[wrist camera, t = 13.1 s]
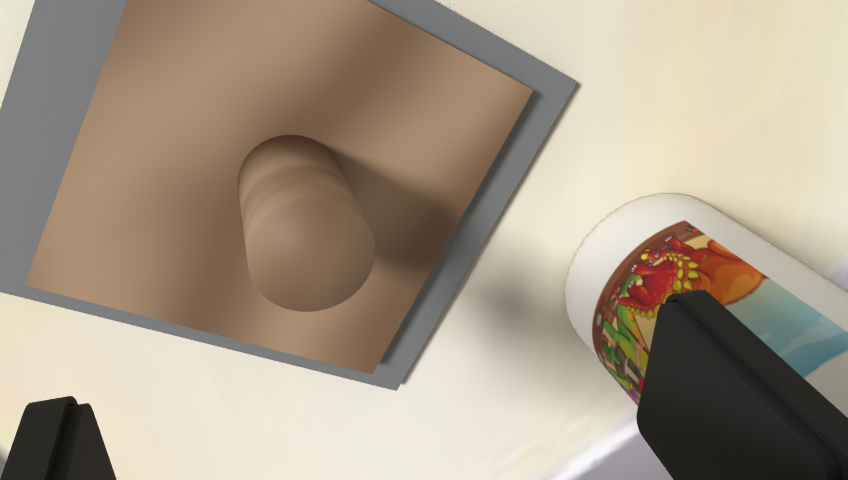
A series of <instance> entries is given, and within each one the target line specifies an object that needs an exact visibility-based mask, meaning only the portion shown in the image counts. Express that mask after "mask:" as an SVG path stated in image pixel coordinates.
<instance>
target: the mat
mask: <svg viewBox="0 0 848 480" xmlns="http://www.w3.org/2000/svg"><path fill="white" fill-rule="evenodd" d="M369 1H371V2H372V3H374V4H376V5H378V6H380V7H382V8H384V9H385V10H387V11H389V12H391V13H393V14H395V15H397V16H398V17H400V18H402V19H404V20H406V21H408V22H410V23H411V24H413V25H415V26H417V27H419V28H421V29H423V30H424V31H426V32H428V33H430V34H432V35H434V36H436V37H437V38H439V39H441V40H443V41H445V42H447V43H449V44H450V45H452V46H454V47H456V48H458V49H460V50H462V51H463V52H465V53H467V54H469V55H471V56H473V57H475V58H476V59H478V60H480V61H482V62H484V63H486V64H488V65H489V66H491V67H493V68H495V69H497V70H499V71H501V72H502V73H504V74H506V75H508V76H510V77H512V78H514V79H515V80H517V81H519V82H521V83H523V84H524V85H526V86H528V87H529V88H531V89H532V90H534V91H533V92H532V94H531V96H530V98H529V99H528V101H527V103H526V105H525V106H524V108H523V110H522V112H521V114H520V115H519V117H518V119H517V121H516V122H515V124H514V126H513V128H512V129H511V131H510V133H509V135H508V136H507V138H506V140H505V142H504V143H503V145H502V147H501V149H500V150H499V152H498V154H497V156H496V158H495V159H494V161H493V163H492V165H491V166H490V168H489V170H488V172H487V173H486V175H485V177H484V179H483V180H482V182H481V184H480V186H479V187H478V189H477V191H476V193H475V195H474V196H473V198H472V200H471V202H470V203H469V205H468V207H467V209H466V210H465V212H464V214H463V216H462V217H461V219H460V221H459V223H458V224H457V226H456V228H455V230H454V232H453V233H452V235H451V237H450V239H449V240H448V242H447V244H446V246H445V247H444V249H443V251H442V253H441V254H440V256H439V258H438V260H437V261H436V263H435V265H434V267H433V268H432V270H431V272H430V274H429V276H428V277H427V279H426V281H425V283H424V284H423V286H422V288H421V290H420V291H419V293H418V295H417V297H416V298H415V300H414V302H413V304H412V305H411V307H410V309H409V311H408V313H407V314H406V316H405V318H404V320H403V321H402V323H401V325H400V327H399V328H398V330H397V332H396V334H395V335H394V337H393V339H392V341H391V342H390V344H389V346H388V348H387V350H386V351H385V353H384V355H383V357H382V358H381V360H380V362H379V364H378V365H377V367H376V369H375V371H374V372H373V374H372V375H371V374H367V373H363V372H359V371H356V370H352V369H348V368H344V367H340V366H336V365H332V364H328V363H324V362H321V361H317V360H313V359H309V358H305V357H301V356H297V355H293V354H289V353H286V352H282V351H278V350H274V349H270V348H266V347H262V346H258V345H254V344H250V343H247V342H243V341H239V340H235V339H231V338H227V337H223V336H219V335H215V334H212V333H208V332H204V331H200V330H196V329H192V328H188V327H184V326H180V325H177V324H173V323H169V322H165V321H161V320H157V319H153V318H149V317H145V316H142V315H138V314H134V313H130V312H126V311H122V310H118V309H114V308H110V307H107V306H103V305H99V304H95V303H91V302H87V301H83V300H79V299H75V298H72V297H68V296H64V295H60V294H56V293H52V292H48V291H44V290H40V289H37V288H33V287H29V286H25V285H24V284H25V281H26V279H27V276H28V273H29V270H30V268H31V265H32V262H33V259H34V256H35V254H36V251H37V248H38V245H39V243H40V240H41V237H42V234H43V232H44V229H45V226H46V223H47V220H48V218H49V215H50V212H51V209H52V207H53V204H54V201H55V198H56V195H57V193H58V190H59V187H60V184H61V182H62V179H63V176H64V173H65V171H66V168H67V165H68V162H69V159H70V157H71V154H72V151H73V148H74V146H75V143H76V140H77V137H78V135H79V132H80V129H81V126H82V123H83V121H84V118H85V115H86V112H87V110H88V107H89V104H90V101H91V99H92V96H93V93H94V90H95V87H96V85H97V82H98V79H99V76H100V74H101V71H102V68H103V65H104V63H105V60H106V57H107V54H108V51H109V49H110V46H111V43H112V40H113V38H114V35H115V32H116V29H117V26H118V24H119V21H120V18H121V15H122V13H123V10H124V7H125V4H126V2H127V0H35V3H34V6H33V9H32V12H31V15H30V18H29V21H28V25H27V28H26V31H25V34H24V37H23V40H22V43H21V47H20V50H19V53H18V56H17V59H16V62H15V65H14V68H13V72H12V75H11V78H10V81H9V84H8V87H7V90H6V93H5V97H4V100H3V103H2V106H1V109H0V292H2V293H6V294H10V295H14V296H18V297H22V298H27V299H31V300H35V301H39V302H43V303H47V304H51V305H55V306H59V307H63V308H67V309H71V310H75V311H79V312H83V313H87V314H91V315H95V316H99V317H103V318H107V319H111V320H115V321H119V322H123V323H127V324H131V325H135V326H139V327H143V328H147V329H151V330H155V331H159V332H163V333H167V334H171V335H175V336H179V337H183V338H187V339H191V340H195V341H199V342H203V343H207V344H211V345H215V346H219V347H223V348H227V349H231V350H235V351H239V352H243V353H247V354H251V355H255V356H259V357H263V358H267V359H271V360H275V361H279V362H283V363H287V364H291V365H295V366H299V367H303V368H307V369H311V370H315V371H319V372H323V373H327V374H331V375H335V376H339V377H343V378H347V379H351V380H355V381H359V382H363V383H367V384H371V385H375V386H379V387H383V388H387V389H391V390H395V391H397V389H398V388H399V386H400V384H401V382H402V381H403V379H404V377H405V376H406V374H407V372H408V371H409V369H410V367H411V365H412V364H413V362H414V360H415V359H416V357H417V355H418V353H419V352H420V350H421V348H422V347H423V345H424V343H425V342H426V340H427V338H428V336H429V335H430V333H431V331H432V330H433V328H434V326H435V324H436V323H437V321H438V319H439V318H440V316H441V314H442V313H443V311H444V309H445V307H446V306H447V304H448V302H449V301H450V299H451V297H452V295H453V294H454V292H455V290H456V289H457V287H458V285H459V284H460V282H461V280H462V278H463V277H464V275H465V273H466V272H467V270H468V268H469V266H470V265H471V263H472V261H473V260H474V258H475V256H476V254H477V253H478V251H479V249H480V248H481V246H482V244H483V243H484V241H485V239H486V237H487V236H488V234H489V232H490V231H491V229H492V227H493V225H494V224H495V222H496V220H497V219H498V217H499V215H500V214H501V212H502V210H503V208H504V207H505V205H506V203H507V202H508V200H509V198H510V196H511V195H512V193H513V191H514V190H515V188H516V186H517V185H518V183H519V181H520V179H521V178H522V176H523V174H524V173H525V171H526V169H527V167H528V166H529V164H530V162H531V161H532V159H533V157H534V156H535V154H536V152H537V150H538V149H539V147H540V145H541V144H542V142H543V140H544V138H545V137H546V135H547V133H548V132H549V130H550V128H551V127H552V125H553V123H554V121H555V120H556V118H557V116H558V115H559V113H560V111H561V109H562V108H563V106H564V104H565V103H566V101H567V99H568V98H569V96H570V94H571V92H572V91H573V89H574V87H575V86H576V84H577V81H575V80H573V79H572V78H570V77H568V76H566V75H564V74H563V73H561V72H559V71H557V70H556V69H554V68H552V67H550V66H549V65H547V64H545V63H543V62H542V61H540V60H538V59H536V58H534V57H533V56H531V55H529V54H527V53H526V52H524V51H522V50H520V49H519V48H517V47H515V46H513V45H511V44H510V43H508V42H506V41H504V40H503V39H501V38H499V37H497V36H496V35H494V34H492V33H490V32H489V31H487V30H485V29H483V28H481V27H480V26H478V25H476V24H474V23H473V22H471V21H469V20H467V19H466V18H464V17H462V16H460V15H459V14H457V13H455V12H453V11H451V10H450V9H448V8H446V7H444V6H443V5H441V4H439V3H437V2H436V1H434V0H369Z"/></svg>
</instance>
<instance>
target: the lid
mask: <svg viewBox="0 0 848 480" xmlns="http://www.w3.org/2000/svg"><path fill="white" fill-rule="evenodd" d="M533 91H534V90H532V89H531V88H529V87H528V86H526V85H524V84H523V83H521V82H519V81H517V80H515V79H514V78H512V77H510V76H508V75H506V74H504V73H502V72H501V71H499V70H497V69H495V68H493V67H491V66H489V65H488V64H486V63H484V62H482V61H480V60H478V59H476V58H475V57H473V56H471V55H469V54H467V53H465V52H463V51H462V50H460V49H458V48H456V47H454V46H452V45H450V44H449V43H447V42H445V41H443V40H441V39H439V38H437V37H436V36H434V35H432V34H430V33H428V32H426V31H424V30H423V29H421V28H419V27H417V26H415V25H413V24H411V23H410V22H408V21H406V20H404V19H402V18H400V17H398V16H397V15H395V14H393V13H391V12H389V11H387V10H385V9H384V8H382V7H380V6H378V5H376V4H374V3H372V2H371V1H369V0H127V2H126V4H125V7H124V10H123V13H122V15H121V18H120V21H119V24H118V26H117V29H116V32H115V35H114V38H113V40H112V43H111V46H110V49H109V51H108V54H107V57H106V60H105V63H104V65H103V68H102V71H101V74H100V76H99V79H98V82H97V85H96V87H95V90H94V93H93V96H92V99H91V101H90V104H89V107H88V110H87V112H86V115H85V118H84V121H83V123H82V126H81V129H80V132H79V135H78V137H77V140H76V143H75V146H74V148H73V151H72V154H71V157H70V159H69V162H68V165H67V168H66V171H65V173H64V176H63V179H62V182H61V184H60V187H59V190H58V193H57V195H56V198H55V201H54V204H53V207H52V209H51V212H50V215H49V218H48V220H47V223H46V226H45V229H44V232H43V234H42V237H41V240H40V243H39V245H38V248H37V251H36V254H35V256H34V259H33V262H32V265H31V268H30V270H29V273H28V276H27V279H26V281H25V284H24V285H25V286H29V287H33V288H37V289H40V290H44V291H48V292H52V293H56V294H60V295H64V296H68V297H72V298H75V299H79V300H83V301H87V302H91V303H95V304H99V305H103V306H107V307H110V308H114V309H118V310H122V311H126V312H130V313H134V314H138V315H142V316H145V317H149V318H153V319H157V320H161V321H165V322H169V323H173V324H177V325H180V326H184V327H188V328H192V329H196V330H200V331H204V332H208V333H212V334H215V335H219V336H223V337H227V338H231V339H235V340H239V341H243V342H247V343H250V344H254V345H258V346H262V347H266V348H270V349H274V350H278V351H282V352H286V353H289V354H293V355H297V356H301V357H305V358H309V359H313V360H317V361H321V362H324V363H328V364H332V365H336V366H340V367H344V368H348V369H352V370H356V371H359V372H363V373H367V374H371V375H372V374H373V372H374V371H375V369H376V367H377V365H378V364H379V362H380V360H381V358H382V357H383V355H384V353H385V351H386V350H387V348H388V346H389V344H390V342H391V341H392V339H393V337H394V335H395V334H396V332H397V330H398V328H399V327H400V325H401V323H402V321H403V320H404V318H405V316H406V314H407V313H408V311H409V309H410V307H411V305H412V304H413V302H414V300H415V298H416V297H417V295H418V293H419V291H420V290H421V288H422V286H423V284H424V283H425V281H426V279H427V277H428V276H429V274H430V272H431V270H432V268H433V267H434V265H435V263H436V261H437V260H438V258H439V256H440V254H441V253H442V251H443V249H444V247H445V246H446V244H447V242H448V240H449V239H450V237H451V235H452V233H453V232H454V230H455V228H456V226H457V224H458V223H459V221H460V219H461V217H462V216H463V214H464V212H465V210H466V209H467V207H468V205H469V203H470V202H471V200H472V198H473V196H474V195H475V193H476V191H477V189H478V187H479V186H480V184H481V182H482V180H483V179H484V177H485V175H486V173H487V172H488V170H489V168H490V166H491V165H492V163H493V161H494V159H495V158H496V156H497V154H498V152H499V150H500V149H501V147H502V145H503V143H504V142H505V140H506V138H507V136H508V135H509V133H510V131H511V129H512V128H513V126H514V124H515V122H516V121H517V119H518V117H519V115H520V114H521V112H522V110H523V108H524V106H525V105H526V103H527V101H528V99H529V98H530V96H531V94H532V92H533Z"/></svg>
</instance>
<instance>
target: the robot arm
mask: <svg viewBox="0 0 848 480" xmlns="http://www.w3.org/2000/svg"><path fill="white" fill-rule="evenodd" d="M637 424H638V428H639V431H640V433H641V435H642V436H643V437H644V439H645V441H646V442H647V443H648V445H649V446H650V447H651V449H652V450H653V452H654V453H655V454H656V456H657V457H658V458H659V460H660V461H661V463H662V464H663V465H664V467H665V468H666V470H667V471H668V472H669V474H670V475H671V476H672V478H673V479H674V480H848V418H847V417H846V416H845V415H844V414H843V413H842V412H841V411H840V410H839V409H837V408H836V407H835V406H834V405H833V404H832V403H831V402H830V401H829V400H827V399H826V398H825V397H824V396H823V395H822V394H821V393H820V392H819V391H817V390H816V389H815V388H814V387H813V386H812V385H811V384H810V383H809V382H807V381H806V380H805V379H804V378H803V377H802V376H801V375H800V374H799V373H797V372H796V371H795V370H794V369H793V368H792V367H791V366H790V365H789V364H787V363H786V362H785V361H784V360H783V359H782V358H781V357H780V356H779V355H777V354H776V353H775V352H774V351H773V350H772V349H771V348H770V347H769V346H767V345H766V344H765V343H764V342H763V341H762V340H761V339H760V338H759V337H758V336H756V335H755V334H754V333H753V332H752V331H751V330H750V329H749V328H748V327H746V326H745V325H744V324H743V323H742V322H741V321H740V320H739V319H738V318H736V317H735V316H734V315H733V314H732V313H731V312H730V311H729V310H728V309H726V308H725V307H724V306H723V305H722V304H721V303H720V302H719V301H718V300H716V299H715V298H714V297H713V296H712V295H711V294H710V293H708V292H707V291H705V290H702V289H697V290H691V291H685V292H680V293H674V294H671V295H669V296H668V297H667V299H666V301H665V303H664V304H661V306H660V307H659V309H658V313H657V318H656V323H655V327H654V332H653V337H652V342H651V347H650V352H649V357H648V362H647V367H646V371H645V376H644V381H643V386H642V391H641V396H640V401H639V406H638V411H637ZM0 480H116V477H115V474H114V471H113V468H112V465H111V462H110V459H109V456H108V453H107V451H106V448H105V445H104V442H103V439H102V436H101V433H100V430H99V427H98V424H97V421H96V418H95V415H94V412H93V410H92V407H91V406H90V404H88V403H86V404H80V405H78V403H77V401H76V399H75V398H74V397H72V396H68V397H62V398H56V399H50V400H44V401H39V402H33V403H29V404H28V405H27V406H26V408H25V410H24V413H23V416H22V418H21V421H20V424H19V427H18V430H17V433H16V436H15V439H14V441H13V444H12V447H11V450H10V453H9V456H8V459H7V462H6V464H5V467H4V470H3V473H2V476H1V479H0Z"/></svg>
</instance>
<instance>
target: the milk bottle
mask: <svg viewBox="0 0 848 480" xmlns="http://www.w3.org/2000/svg"><path fill="white" fill-rule="evenodd" d="M697 289H702V290H705V291H707V292H708V293H710V294H711V295H712V296H713V297H714V298H715V299H716V300H718V301H719V302H720V303H721V304H722V305H723V306H724V307H725V308H726V309H728V310H729V311H730V312H731V313H732V314H733V315H734V316H735V317H736V318H738V319H739V320H740V321H741V322H742V323H743V324H744V325H745V326H746V327H748V328H749V329H750V330H751V331H752V332H753V333H754V334H755V335H756V336H758V337H759V338H760V339H761V340H762V341H763V342H764V343H765V344H766V345H767V346H769V347H770V348H771V349H772V350H773V351H774V352H775V353H776V354H777V355H779V356H780V357H781V358H782V359H783V360H784V361H785V362H786V363H787V364H789V365H790V366H791V367H792V368H793V369H794V370H795V371H796V372H797V373H799V374H800V375H801V376H802V377H803V378H804V379H805V380H806V381H807V382H809V383H810V384H811V385H812V386H813V387H814V388H815V389H816V390H817V391H819V392H820V393H821V394H822V395H823V396H824V397H825V398H826V399H827V400H829V401H830V402H831V403H832V404H833V405H834V406H835V407H836V408H837V409H839V410H840V411H841V412H842V413H843V414H844V415H845V416H846V417H847V418H848V293H847V292H846V291H844V290H843V289H841V288H839V287H838V286H836V285H835V284H833V283H832V282H830V281H829V280H827V279H825V278H824V277H822V276H821V275H819V274H818V273H816V272H815V271H813V270H811V269H810V268H808V267H807V266H805V265H803V264H802V263H800V262H799V261H797V260H796V259H794V258H792V257H791V256H789V255H788V254H786V253H784V252H783V251H781V250H780V249H778V248H776V247H775V246H773V245H772V244H770V243H769V242H767V241H765V240H764V239H762V238H761V237H759V236H757V235H756V234H754V233H753V232H751V231H749V230H748V229H746V228H745V227H743V226H741V225H740V224H738V223H737V222H735V221H733V220H732V219H730V218H729V217H727V216H725V215H724V214H722V213H721V212H719V211H717V210H716V209H714V208H712V207H711V206H709V205H707V204H705V203H704V202H702V201H700V200H698V199H696V198H693V197H690V196H687V195H681V194H655V195H651V196H646V197H641V198H638V199H636V200H634V201H631V202H629V203H626V204H624V205H623V206H621V207H619V208H618V209H616V210H614V211H613V212H611V213H610V214H608V215H607V216H606V217H605V218H604V219H603V220H601V221H600V222H599V223H598V224H596V226H595V227H594V228H593V229H592V230H591V232H590V233H589V234H588V235H587V236H586V237H585V238H584V240H583V241H582V243H581V245H580V246H579V248H578V249H577V251H576V252H575V254H574V257H573V259H572V262H571V264H570V266H569V269H568V274H567V278H566V282H565V302H566V309H567V314H568V317H569V320H570V322H571V324H572V326H573V328H574V329H575V331H576V332H577V333H578V334H579V336H580V337H581V338H582V340H583V341H584V342H585V344H586V345H587V346H588V347H589V349H590V350H591V351H592V352H593V353H594V355H595V356H596V357H597V358H598V359H599V361H600V362H601V363H602V364H603V365H604V367H605V368H606V369H607V370H608V371H609V373H610V374H611V375H612V376H613V377H614V379H615V380H616V381H617V382H618V383H619V384H620V386H621V387H622V388H623V389H624V390H625V392H626V393H627V394H628V395H629V396H630V397H631V399H632V400H633V401H634V402H635V403H636V405H637V406H639V401H640V396H641V391H642V386H643V381H644V376H645V371H646V367H647V362H648V357H649V352H650V347H651V342H652V337H653V332H654V327H655V323H656V318H657V313H658V309H659V307H660V306H661V304H664V303H665V301H666V299H667V297H668V296H669V295H671V294H674V293H680V292H685V291H691V290H697Z"/></svg>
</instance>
